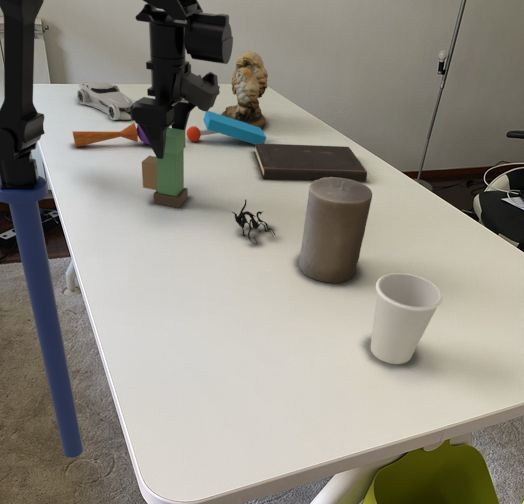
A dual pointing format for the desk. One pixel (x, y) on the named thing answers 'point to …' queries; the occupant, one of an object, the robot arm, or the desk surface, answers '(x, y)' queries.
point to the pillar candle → (334, 228)
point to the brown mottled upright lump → (248, 90)
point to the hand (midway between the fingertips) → (170, 150)
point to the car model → (105, 99)
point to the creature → (254, 223)
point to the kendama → (109, 135)
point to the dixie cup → (402, 315)
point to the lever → (227, 129)
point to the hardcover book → (308, 162)
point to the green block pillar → (167, 171)
